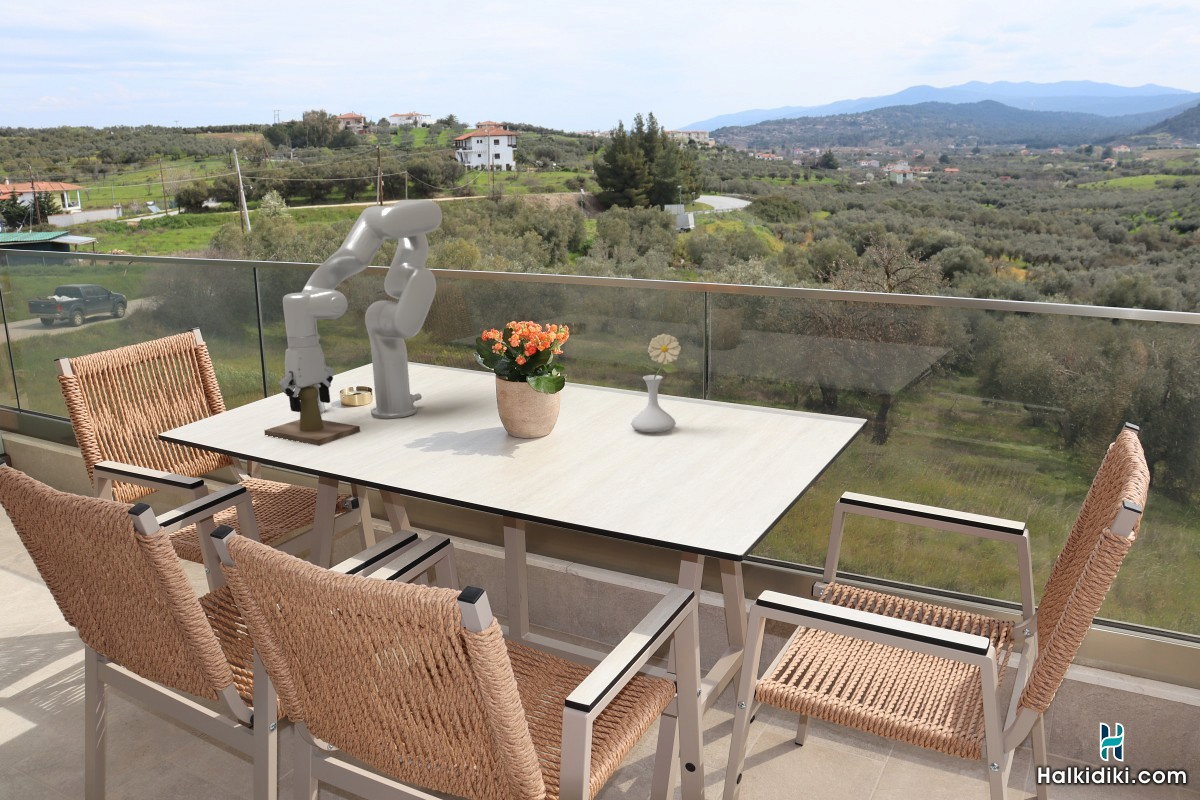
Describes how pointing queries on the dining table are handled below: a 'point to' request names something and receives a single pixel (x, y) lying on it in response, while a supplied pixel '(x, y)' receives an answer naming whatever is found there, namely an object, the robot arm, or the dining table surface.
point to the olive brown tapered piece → (309, 409)
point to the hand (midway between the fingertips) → (311, 406)
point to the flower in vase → (653, 415)
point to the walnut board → (313, 432)
